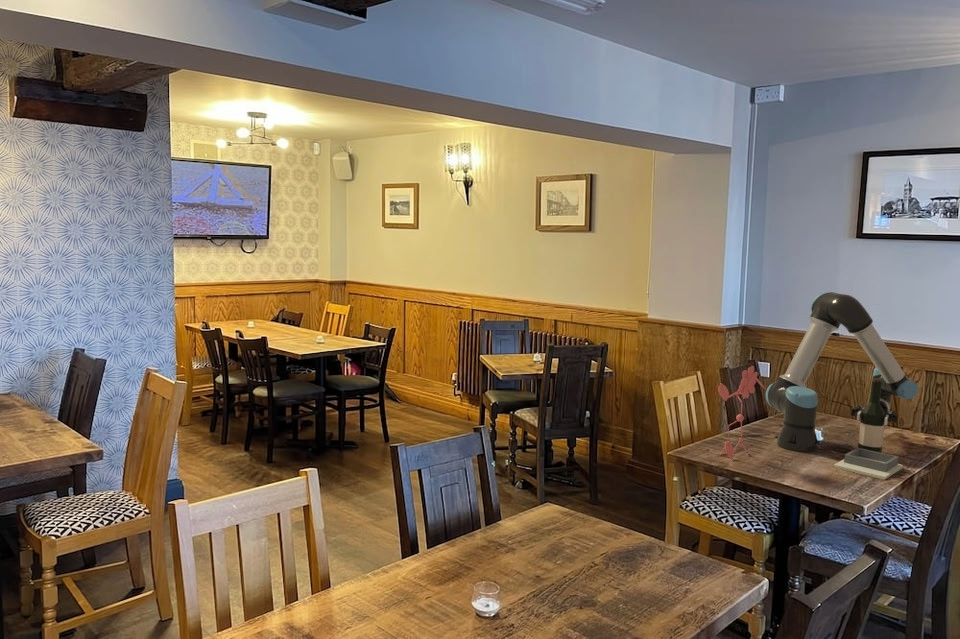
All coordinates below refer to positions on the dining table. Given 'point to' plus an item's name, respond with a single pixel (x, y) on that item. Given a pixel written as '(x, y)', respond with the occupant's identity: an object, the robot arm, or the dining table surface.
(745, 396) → the pink wire flower sculpture
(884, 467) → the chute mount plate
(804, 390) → the robot arm
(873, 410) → the wine bottle
